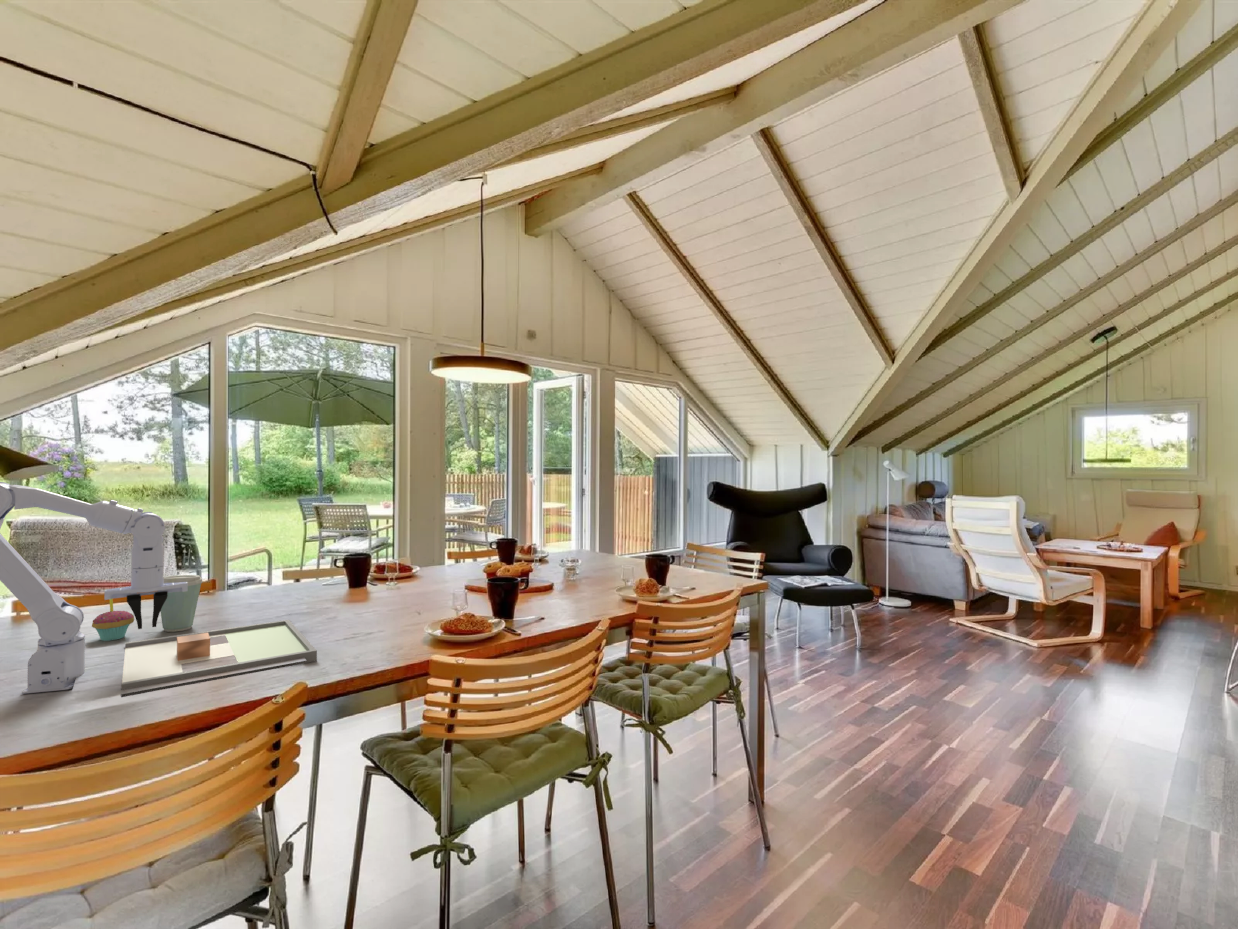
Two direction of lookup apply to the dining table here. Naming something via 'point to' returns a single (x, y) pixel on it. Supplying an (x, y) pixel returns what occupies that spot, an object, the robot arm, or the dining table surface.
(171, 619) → the disposable coffee cup
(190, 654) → the block
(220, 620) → the dining table surface
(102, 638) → the cupcake
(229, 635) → the sectioned serving tray
